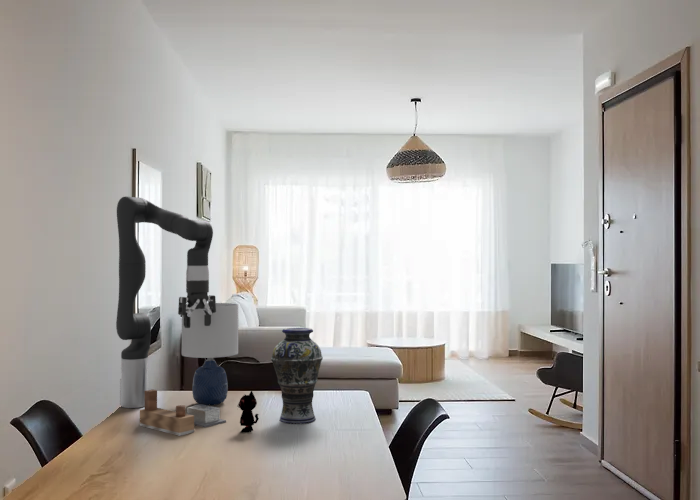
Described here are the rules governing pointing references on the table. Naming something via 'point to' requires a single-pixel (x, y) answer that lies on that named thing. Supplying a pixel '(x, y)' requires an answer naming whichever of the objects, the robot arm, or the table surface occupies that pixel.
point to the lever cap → (204, 413)
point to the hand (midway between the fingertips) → (197, 326)
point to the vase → (297, 374)
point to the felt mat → (209, 423)
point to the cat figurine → (247, 412)
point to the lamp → (211, 350)
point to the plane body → (165, 417)
